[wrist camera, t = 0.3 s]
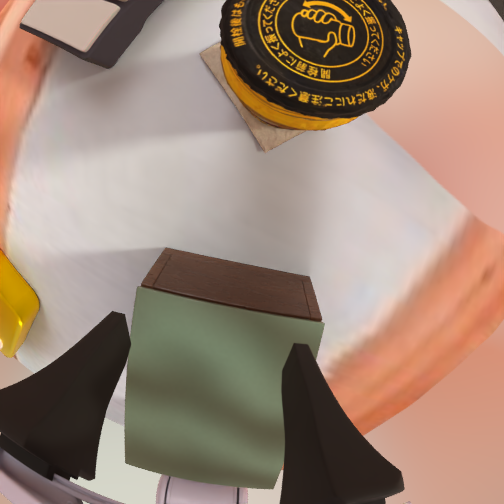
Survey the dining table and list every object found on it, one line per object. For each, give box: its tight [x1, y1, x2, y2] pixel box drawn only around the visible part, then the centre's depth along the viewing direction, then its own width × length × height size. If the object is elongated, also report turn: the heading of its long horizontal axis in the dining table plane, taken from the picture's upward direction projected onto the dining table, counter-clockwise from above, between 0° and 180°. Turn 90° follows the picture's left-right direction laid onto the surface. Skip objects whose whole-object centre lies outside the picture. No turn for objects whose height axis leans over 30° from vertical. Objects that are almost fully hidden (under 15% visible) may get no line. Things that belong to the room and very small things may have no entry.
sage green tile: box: [125, 286, 325, 489], centre depth 15 cm, size 14×12×1 cm
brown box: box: [141, 248, 322, 322], centre depth 22 cm, size 14×12×5 cm
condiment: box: [200, 0, 411, 153], centre depth 10 cm, size 7×8×12 cm
